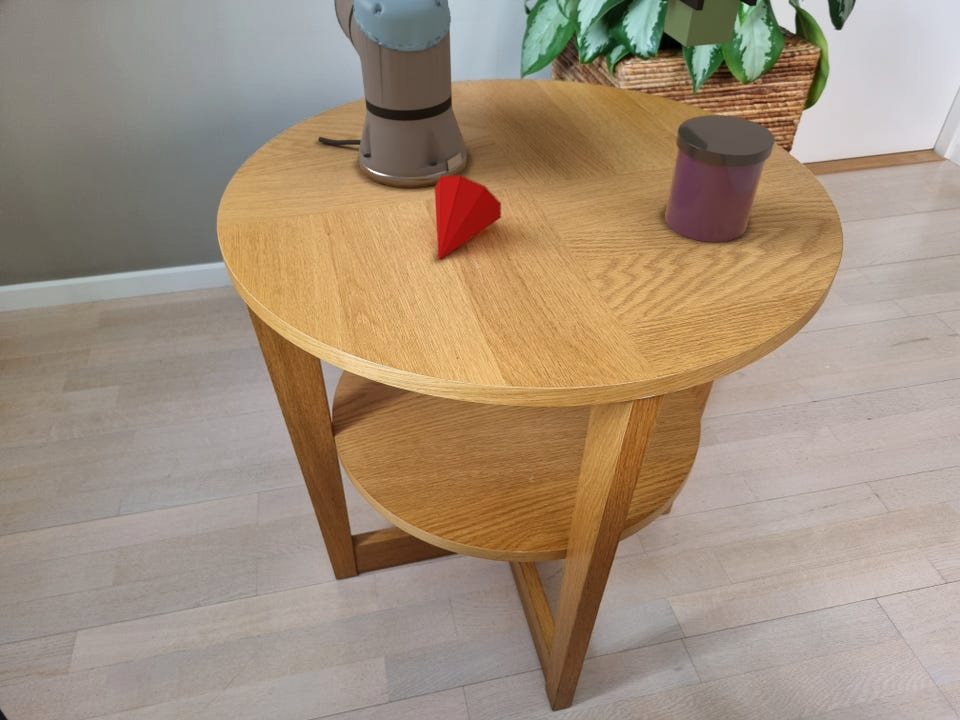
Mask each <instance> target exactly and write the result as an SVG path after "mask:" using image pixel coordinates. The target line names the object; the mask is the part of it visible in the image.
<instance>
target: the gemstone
mask: <svg viewBox="0 0 960 720" xmlns="http://www.w3.org/2000/svg"><path fill="white" fill-rule="evenodd" d="M434 198H435V199H434V200H435V201H434V202H435V216H436V217H435V218H436V237H437V253H438V254H437V255H438V256H437V257H438V260H441V259H443V258H444V257H445V256H447V255H448V254H450V253H451V252H453V251H454V250H456V249H457V248H458V247H460V246H462V245H463V244H464V243H466V242H467V241H469V240H470V239H471V238H473V237H475V236H476V235H478V234H479V233H480V232H482V231H483V230H485V229H486V228H488V227H489V226H491V225H492V224H494V223H496V221H498V220H500V219H501V218H502V202H501V201H500V200H499V198H497V197H496V196H495V195H494V193H492V192H491V190H490V189H489V188H488V187H487V186H486V185H484V184H482V183H479V182H477V181H475V180H474V179H473V180H472V179H471V178H468V177H466V176H465V175H462V174H458V175H451V177H444V176H440V178H439V180H438V182H437V184H435V186H434Z"/></svg>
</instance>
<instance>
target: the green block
mask: <svg viewBox="0 0 960 720" xmlns="http://www.w3.org/2000/svg"><path fill="white" fill-rule="evenodd" d="M740 3H741V1H740V0H705V1H704V6H703V10H700V11H696V10H694V9H693V8H691V7H690V6H688V5H686V4H685V3H683V2H681V1H680V0H668V3H667V10H666V15H665V21H664V28H663V32H664V34H667V35H668V36H669V37H671V38H672V39H674V40H675V41H677V42H678V43H680V44H681V45H682V46H684V47H685V48H689V47H699V46H710V45H719V44H729V43H732V38H733V35H734V30H735V26H736V21H737V16H738V12H739V8H740Z"/></svg>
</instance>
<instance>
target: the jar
mask: <svg viewBox="0 0 960 720" xmlns="http://www.w3.org/2000/svg"><path fill="white" fill-rule="evenodd" d="M675 142H676V147H677V149H676V156H675V161H674V167H673V171H672V176H671V182H670V187H669V190H668V191H669V192H668V195H667V196H668V197H667V202H666V207H665V213H664V221H665V223H666V225H667V226H668V227H669V228H670V229H671V230H672V231H674V232H676V233H677V234H678V235H681V236H682V237H685V238H688V239H692V240H694V241H695V240H696V241H700V242H708V243H723V242H728V241H732V240H735V239H738V238H740V236H742V235H743V234H744V233H745V232H746V229H747V227H748V223H749V220H750V216H751V212H752V209H753V206H754V202H755V199H756V196H757V192H758V188H759V184H760V181H761V178H762V175H763V171H764V167H765V164H766V160H768V159H769V158H770V157H771V155H772V153H773V149H774V147H775V143H776V139H775V135H774V134H773V132H772V131H771V130H769V129H768V127H765V125H762V124H760V123H757V122H755V121H752V120H750V119H746V118H743V117H738V116H732V115H724V114H707V115H699V116H694V117H691V118H688V119H685V120H684V121H683V122H681V124H679V126H678V128H677V132H676V138H675Z"/></svg>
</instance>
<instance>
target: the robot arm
mask: <svg viewBox="0 0 960 720" xmlns="http://www.w3.org/2000/svg"><path fill="white" fill-rule="evenodd" d="M660 1H661V2H667V1H668V0H660ZM680 1H681V2H683V3H685V4H686V5H688V6H690V7H691V8H693V9H694V10H696V11H700V10H703V6H704V1H705V0H680ZM740 3H743V4H745V5H746V6H749V7H756V6H757V3H758V0H740ZM333 6H334V12H335V17H336V20H337V23H338V24H339V27H340V29H341V31H343V34H344V35H345V37H346V38H347V39H348V41H349V43H351V45H352V47H353V48H354V49H355V51H356V53H357V55H358V56H359V61H360V66H361V67H360V68H361V75H362V76H361V77H362V83H363V84H362V85H363V91H364V99H365V100H364V101H365V109H366V114H365V119H364V123H363V128H362V133H361V136H360V137H361V138H360V139H332V138H331V139H330V138H327V137H322V136H319V137H318V142H319V143H323V144H327V145H331V146H333V145H334V146H359V148H358V161H359V162H358V163H359V168H360V170H361V172H362V173H363V175H364V176H366V178H368V179H370V180H371V181H374V182H377V183H379V184H382V185H386V186H391V187H399V188H419V187H427V186H433V185H436V184H437V182H438V180H439V178H440V176H444V177H451V175H460V173H461V172H462V171H463V170H464V169H465V168H466V165H467V147H466V143H465V140H464V136H463V134H462V132H461V129H460V127H459V123H458V120H457V118H456V115H455V113H454V109H453V95H452V94H453V93H452V92H453V91H452V90H453V89H452V62H451V61H452V58H451V57H452V56H451V55H452V54H451V22H452V16H451V10H450V5H449V0H333Z"/></svg>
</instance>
